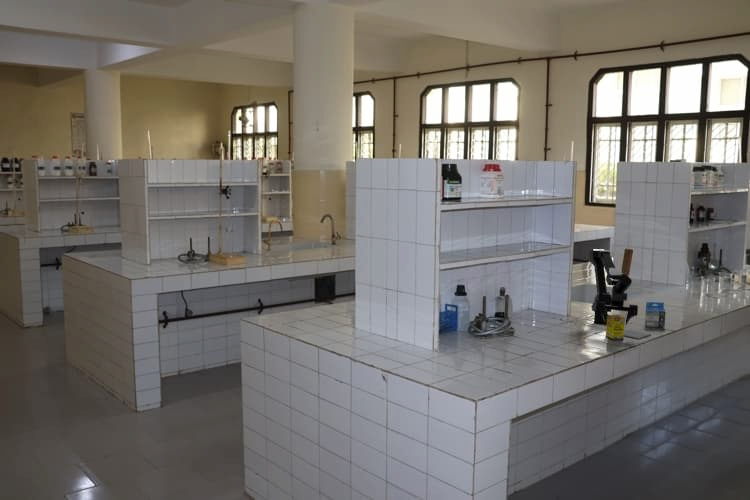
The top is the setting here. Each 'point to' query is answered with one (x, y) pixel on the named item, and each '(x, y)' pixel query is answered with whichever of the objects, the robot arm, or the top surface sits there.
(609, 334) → the supplement box
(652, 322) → the label tape box
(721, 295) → the top surface
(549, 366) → the top surface
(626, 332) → the mat
